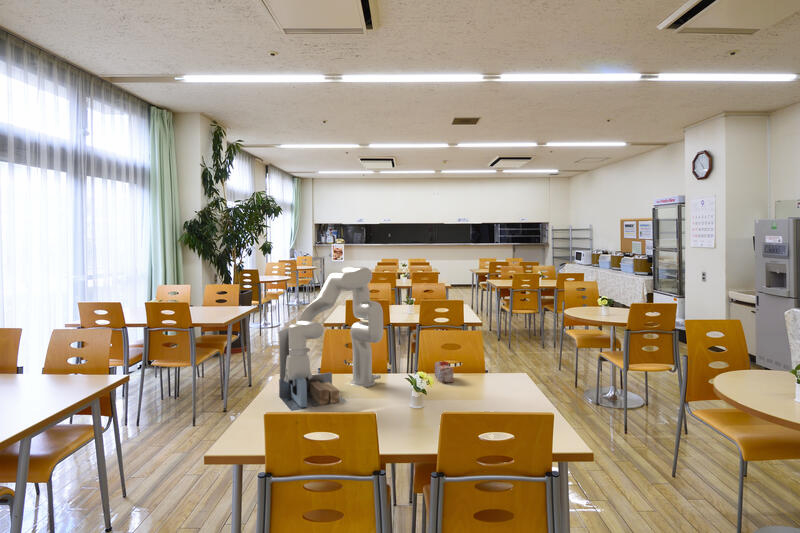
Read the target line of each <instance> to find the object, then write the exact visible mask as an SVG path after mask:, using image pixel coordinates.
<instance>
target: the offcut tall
mask: <svg viewBox="0 0 800 533" xmlns="http://www.w3.org/2000/svg"><path fill="white" fill-rule="evenodd" d="M310 396H311V397H312V398H313V399H315V400H316V401H317V402H318V403H319V404H326V403H329V389H327V388H326V387H325V386H324V385H322V384H321V383H320V382H311V383H310Z"/></svg>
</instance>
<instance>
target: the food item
mask: <svg viewBox="0 0 800 533" xmlns="http://www.w3.org/2000/svg"><path fill="white" fill-rule="evenodd" d="M435 376H436V377H435ZM434 377H435V378H437V379H438V380H439V381H438V380H437V381H438V382H441V383H442V382H452V383H454V381H453V380H454V368H453V367H452V366H451V365H450V364H449V362H448V361H445V360H443V361H441V360H440V361H436V362H435V363H434Z"/></svg>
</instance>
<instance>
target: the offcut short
mask: <svg viewBox="0 0 800 533" xmlns="http://www.w3.org/2000/svg"><path fill="white" fill-rule="evenodd" d="M321 384H322V385H324V386H325V387H326V388H327V389H329V401H330V402H331V403H332V402H338V401H339V395H340V389H338V388H337V387H336V386H335V385H333V383H332V384H331V383H329V382H326V383H321Z"/></svg>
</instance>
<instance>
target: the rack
mask: <svg viewBox="0 0 800 533" xmlns="http://www.w3.org/2000/svg"><path fill="white" fill-rule="evenodd" d="M312 376H313V377H312V378H310V379H309V380H308V381H307V382H306V385H307V407H300V406H299V405H298V404H297V403H296V401H295V400H294V399H293V398H292V397H291V384H290V383H289V382H285V381H284V379H280V378H278V397H279V398H280V400H282V402H283V403H284V405H286V407H287V408H288V409H289V410H290V411H291V412H293V411H300V410H305V409H306V410H307V409H312V408H317V407H323V406H331V405H334V404H340V403H346V402H348V400H346V399H345V398H344V397H342V396H341V395H340V394H339V401H338V402H332V403H331V402H330V401H329V403H326V404H319V403H318V402H317V401H316V400H315V399H313V398H312V397H311V396H310V383H311V382H320V383H326V382H329V383H331V384H332V385H333V372H325V373H317V374H312ZM290 380H291V379H290Z"/></svg>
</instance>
